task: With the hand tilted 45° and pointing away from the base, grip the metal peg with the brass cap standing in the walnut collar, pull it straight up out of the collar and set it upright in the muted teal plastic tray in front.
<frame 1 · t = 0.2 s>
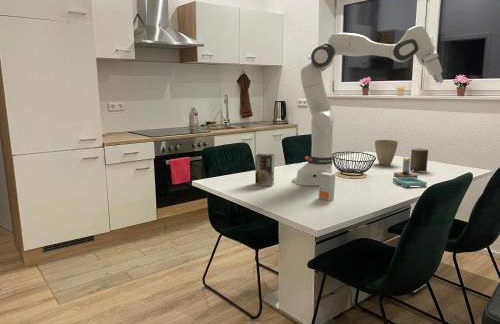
hand: (440, 82, 190), 54 cm above the table, tool tilted 30°, fingers open, 8 cm apart
pillar candle: (417, 171, 243), on the table
skincare box: (326, 199, 180), on the table
walnut collar: (405, 179, 220), on the table
metal peg: (406, 168, 219), in the walnut collar
coffee box: (264, 184, 206), on the table
teal tray: (409, 184, 207), on the table
plant pot: (384, 164, 263), on the table
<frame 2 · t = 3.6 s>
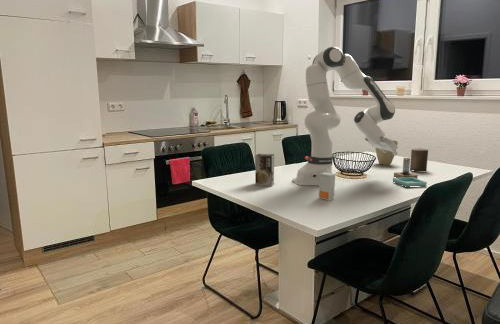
hand: (390, 153, 215), 15 cm above the table, tool tilted 45°, fingers open, 8 cm apart
nothing on the table moved.
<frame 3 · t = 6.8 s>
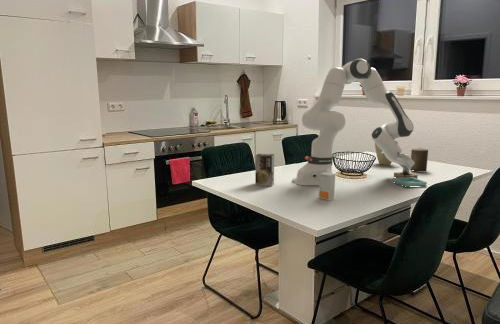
hand: (407, 168, 219), 6 cm above the table, tool tilted 45°, fingers closed on metal peg, 3 cm apart
metal peg: (406, 168, 219), in the walnut collar, touching gripper
everything else where it was.
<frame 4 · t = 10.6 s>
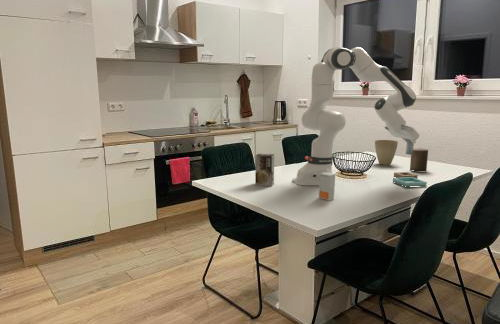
hand: (411, 142, 210), 22 cm above the table, tool tilted 45°, fingers closed on metal peg, 3 cm apart
metal peg: (410, 143, 210), point 22 cm above the table, touching gripper
everything else where it was.
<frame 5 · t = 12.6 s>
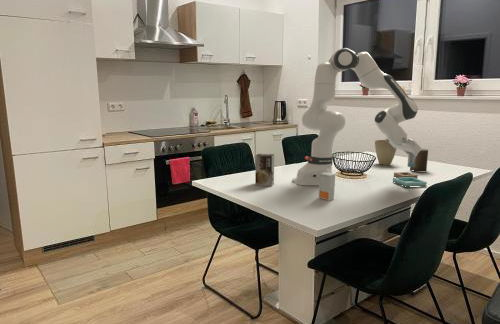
hand: (412, 154, 205), 16 cm above the table, tool tilted 45°, fingers closed on metal peg, 3 cm apart
metal peg: (411, 155, 205), point 16 cm above the table, touching gripper
everything else where it was.
when the fingers open (8 cm above the table, at t = 14.3 s): metal peg stays where it is, resting on teal tray.
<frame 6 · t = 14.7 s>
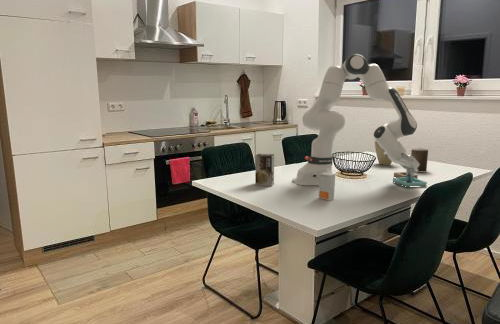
hand: (411, 169, 206), 8 cm above the table, tool tilted 45°, fingers open, 8 cm apart
metal peg: (409, 172, 206), in the teal tray, point 7 cm above the table
everything else where it was.
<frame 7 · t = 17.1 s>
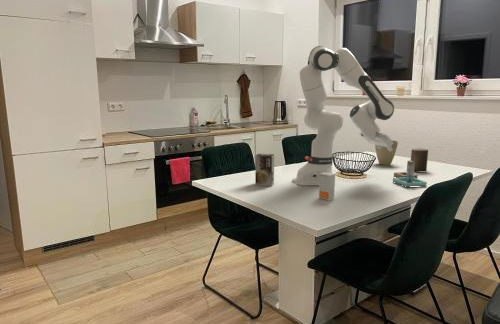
hand: (386, 149, 210), 18 cm above the table, tool tilted 45°, fingers open, 8 cm apart
nothing on the table moved.
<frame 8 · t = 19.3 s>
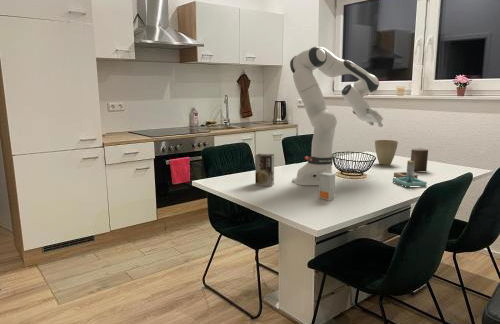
hand: (377, 125, 226), 29 cm above the table, tool tilted 45°, fingers open, 8 cm apart
nothing on the table moved.
at the end: metal peg inside the target area on the teal tray (0.0 cm from its centre), point 6.8 cm above the teal tray's base; metal peg tilted 0°; the gripper is holding nothing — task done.
